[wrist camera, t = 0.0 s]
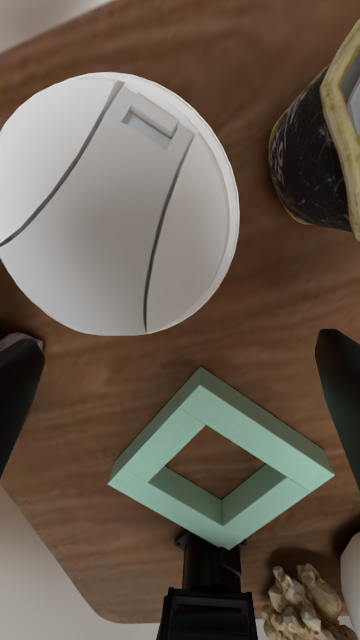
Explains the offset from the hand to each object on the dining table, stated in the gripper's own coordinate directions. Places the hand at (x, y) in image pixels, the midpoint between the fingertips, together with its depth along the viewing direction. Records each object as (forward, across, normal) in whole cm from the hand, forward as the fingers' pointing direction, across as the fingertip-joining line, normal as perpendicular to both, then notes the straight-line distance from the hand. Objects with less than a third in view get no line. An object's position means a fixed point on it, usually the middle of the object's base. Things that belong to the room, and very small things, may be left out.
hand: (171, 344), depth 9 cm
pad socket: (+10, -1, +24) cm, 26 cm away
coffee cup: (+16, +2, 0) cm, 16 cm away
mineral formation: (+3, -7, +43) cm, 44 cm away
